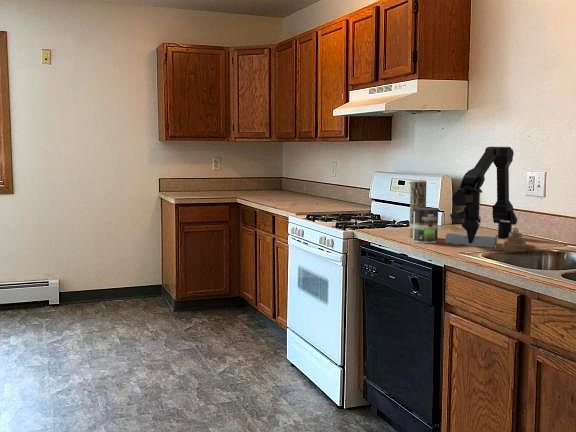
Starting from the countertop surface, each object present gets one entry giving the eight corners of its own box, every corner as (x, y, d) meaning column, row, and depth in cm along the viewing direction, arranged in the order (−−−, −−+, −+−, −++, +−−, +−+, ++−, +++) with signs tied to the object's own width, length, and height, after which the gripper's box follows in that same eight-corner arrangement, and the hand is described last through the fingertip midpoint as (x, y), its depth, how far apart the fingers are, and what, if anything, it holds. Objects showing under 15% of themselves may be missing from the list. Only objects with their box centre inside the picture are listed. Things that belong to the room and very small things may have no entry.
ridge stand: (504, 243, 262) (505, 227, 262) (525, 244, 260) (526, 228, 259) (503, 250, 246) (504, 233, 245) (525, 251, 243) (526, 234, 242)
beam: (448, 242, 265) (448, 233, 265) (496, 247, 255) (497, 237, 254) (445, 243, 262) (445, 234, 262) (494, 248, 252) (494, 238, 251)
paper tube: (422, 235, 282) (424, 179, 279) (426, 238, 275) (428, 180, 272) (407, 235, 282) (409, 179, 279) (411, 238, 275) (412, 181, 272)
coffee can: (441, 243, 263) (442, 209, 261) (418, 243, 261) (419, 210, 259) (431, 239, 273) (432, 206, 271) (408, 240, 271) (409, 207, 269)
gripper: (454, 201, 268) (452, 237, 270) (449, 205, 251) (448, 244, 252) (481, 202, 264) (480, 239, 266) (478, 206, 247) (477, 246, 249)
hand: (470, 242), depth 258 cm, fingers open, 5 cm apart
